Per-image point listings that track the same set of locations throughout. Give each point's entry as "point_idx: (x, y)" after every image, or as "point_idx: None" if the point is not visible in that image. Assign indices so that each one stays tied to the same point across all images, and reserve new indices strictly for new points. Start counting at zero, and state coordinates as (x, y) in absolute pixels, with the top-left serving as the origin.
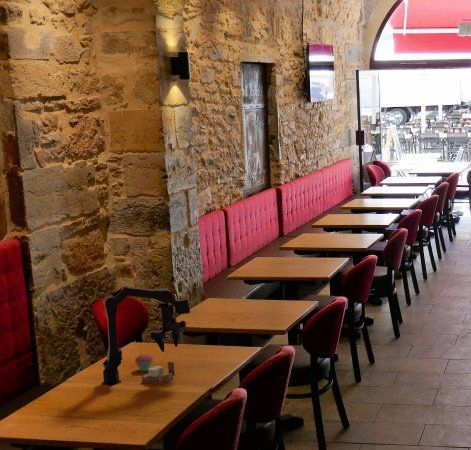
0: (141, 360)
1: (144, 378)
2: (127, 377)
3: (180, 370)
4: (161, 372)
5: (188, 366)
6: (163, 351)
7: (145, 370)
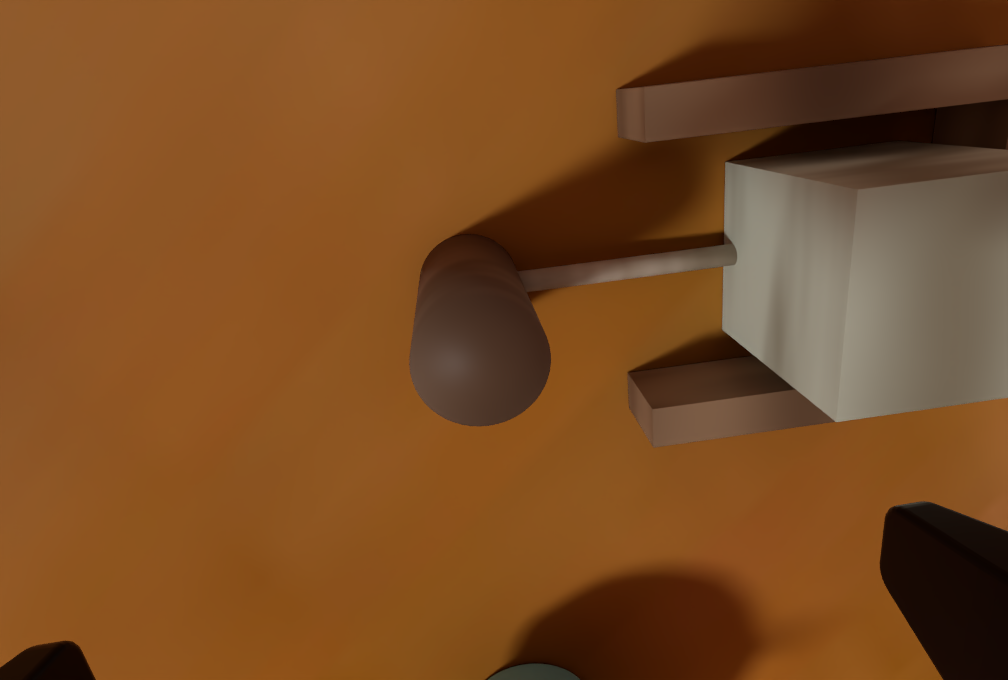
0: None
1: None
2: (849, 635)
3: (234, 332)
4: (883, 166)
5: (9, 385)
6: (940, 508)
7: (564, 670)
